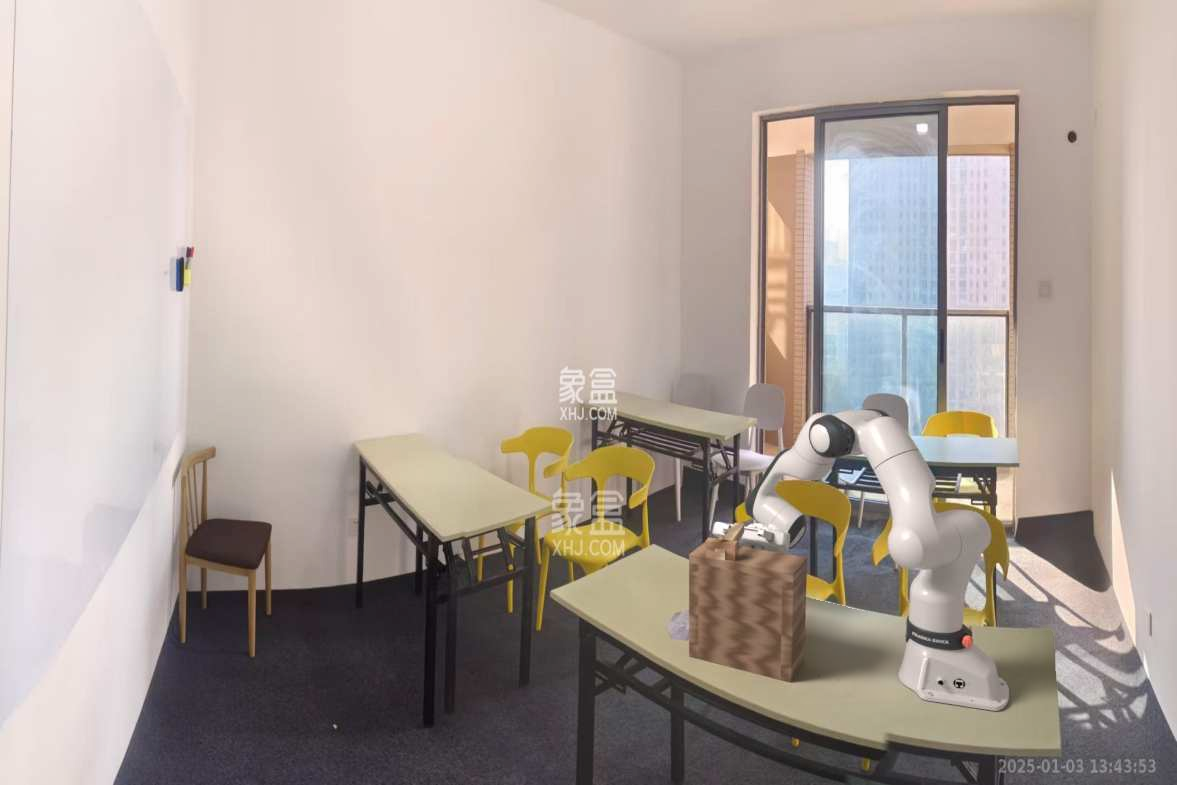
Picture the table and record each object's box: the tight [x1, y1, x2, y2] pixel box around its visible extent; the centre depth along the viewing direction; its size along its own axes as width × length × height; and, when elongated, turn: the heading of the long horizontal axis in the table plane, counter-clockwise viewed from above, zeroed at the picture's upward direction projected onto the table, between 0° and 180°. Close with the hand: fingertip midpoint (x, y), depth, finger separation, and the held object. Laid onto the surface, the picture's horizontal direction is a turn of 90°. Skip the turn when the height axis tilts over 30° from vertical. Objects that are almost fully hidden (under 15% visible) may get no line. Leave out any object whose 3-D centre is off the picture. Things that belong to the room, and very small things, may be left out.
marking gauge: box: [705, 522, 745, 561], centre depth 191 cm, size 7×20×5 cm, turn 156°
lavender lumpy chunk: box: [667, 609, 689, 642], centre depth 203 cm, size 12×5×10 cm
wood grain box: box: [688, 540, 808, 683], centre depth 186 cm, size 25×11×26 cm, turn 59°
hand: (743, 529), depth 202 cm, fingers open, 8 cm apart
